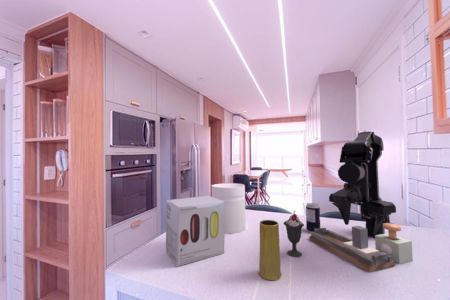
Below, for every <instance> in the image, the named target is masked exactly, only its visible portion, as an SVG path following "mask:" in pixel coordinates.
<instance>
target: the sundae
mask: <svg viewBox="0 0 450 300" xmlns="http://www.w3.org/2000/svg"><path fill="white" fill-rule="evenodd" d="M283 225H284V226H285V228H286V235H287V240H289V242H290V243H291V244H292V246H291V247H292V248H291V249H289V250H287V251H286V254H287V255H288V256H289V257H292V258H301V257H302V256H303V253H302V252H301V251H299V250H298V249H297V244H298V243H299V242H301V237H302V236H301V235H302V230H303V227H304V226H305V225H304V223H303V222H302V221H301V220H300V218H299V216H298V215H297V214H296V210H294V211H293V213H292V215H290V216H289V218H288V220H285V221H284V222H283Z"/></svg>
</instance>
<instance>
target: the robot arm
mask: <svg viewBox="0 0 450 300" xmlns="http://www.w3.org/2000/svg"><path fill="white" fill-rule="evenodd" d="M384 148H385V147H384V142H383V138H382V137H380V136H378V135H377V134H375V132H374V131H372V130H371V131H370V130H369V131H360V132H358V134H357V137H356V138H355V139H354V140H353V141H352V140H351V141H347V142H344V144H343V146H342V147H341V152H340V158H339V163H340V164H341V163H343V164H341V165H340V167H339V168H338V170H337V175H338V178H339V179H340V180H341V181H342V182H344V183H343V188H341V189H339V190H337V191H335V192H333V193H330V194H329V196H328V201H329V202H330V203H332V205H334V207H336V208H337V209H338V211H339V213H340V215H341V217H342V220H343V223H344V225H346V226H349V224H350V218H351V209H352V205H357V206H360V216H361V220H365V228H367V231H368V237H372V238H374V239H375V235H381V234H386V232H385V230H386V229H385V228H384V226H383V224H384V223H391V220H390V219H391V218H390V216H391V215H392V214H395V213H397V207H396V205H395V204H394V202H392V201H385V200H383V199H382V197H380V189H379V188H380V186H379V185H380V184H379V167H378V166H379V163H378V161H379V160H380V158H381V157H382V156H383V152H384Z"/></svg>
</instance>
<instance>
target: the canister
mask: <svg viewBox="0 0 450 300" xmlns="http://www.w3.org/2000/svg"><path fill="white" fill-rule="evenodd" d="M211 197H213V198H216V199H219V200H222V201H224V235H226V234H227V235H233V234H238V233H239V234H240V233H242V232H244V231H245V230H246V186H245V184H243V183H235V182H233V183H230V182H229V183H228V182H227V183H225V182H224V183H215V184H211Z"/></svg>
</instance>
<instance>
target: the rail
mask: <svg viewBox="0 0 450 300" xmlns="http://www.w3.org/2000/svg"><path fill="white" fill-rule="evenodd" d="M314 231H315V232H310V235H309V241H311V242H313V243H315V244H317V245H318V246H320V247H321V248H324V249H326V250H327V251H329V252H331V253H333V254H335V255H337V256H338V257H341V258H342V259H343V260H346V261H348V262H350V263H351V264H353V265H355V266H357V267H358V268H360V269H363V271H366V272H367V273H373V272H376V271H377V272H378V271H381V270H386V269H389V268H394V267H395V262H394V261H392V256H390V255H388V254H387V253H382V252H380V251H379V254H374V255H372V259H370V258H368V257H366V256H364V255H362V254H360V253H358V252H355V251H353V250H351V249H349V248H347V247H345V246H343V243H344V242H350V241H352V238H349V237H347V236H344V235H341V234H340V233H336V232H335V231H333V230H330V229H327V227H320V228H317V229H314Z"/></svg>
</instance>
